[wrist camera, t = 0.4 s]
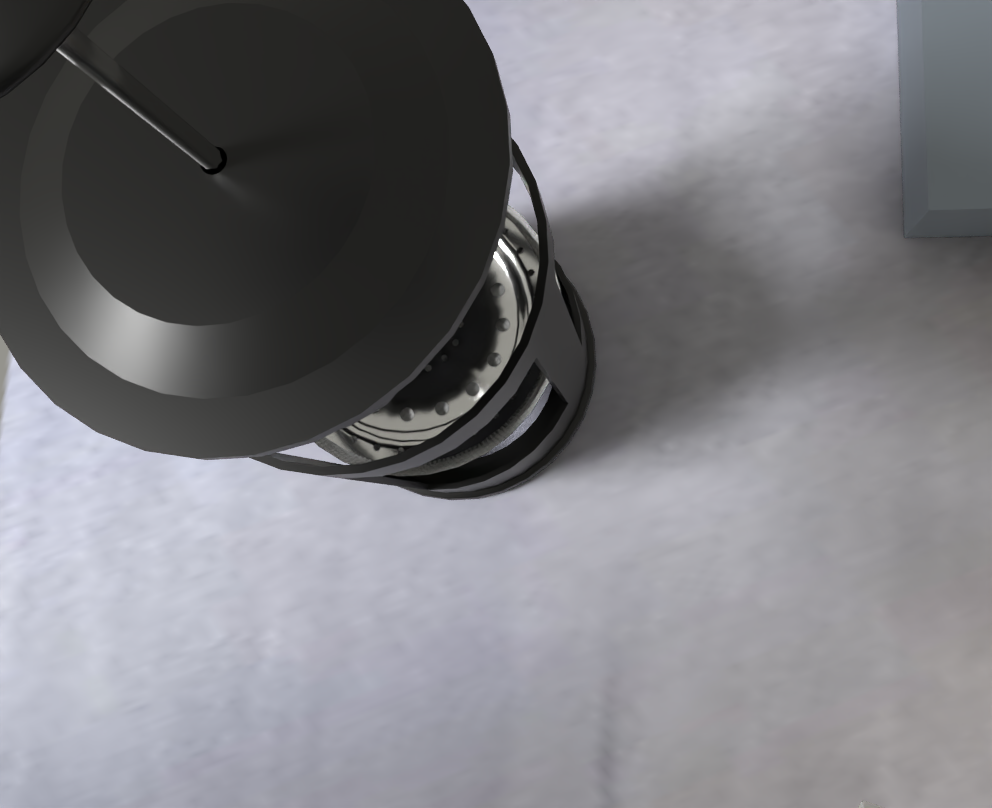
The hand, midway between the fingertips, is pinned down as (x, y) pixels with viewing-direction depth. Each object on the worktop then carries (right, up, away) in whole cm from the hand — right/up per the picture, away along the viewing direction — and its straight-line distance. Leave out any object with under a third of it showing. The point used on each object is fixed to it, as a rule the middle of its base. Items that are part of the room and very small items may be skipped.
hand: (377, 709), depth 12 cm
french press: (0, +6, +18) cm, 19 cm away
